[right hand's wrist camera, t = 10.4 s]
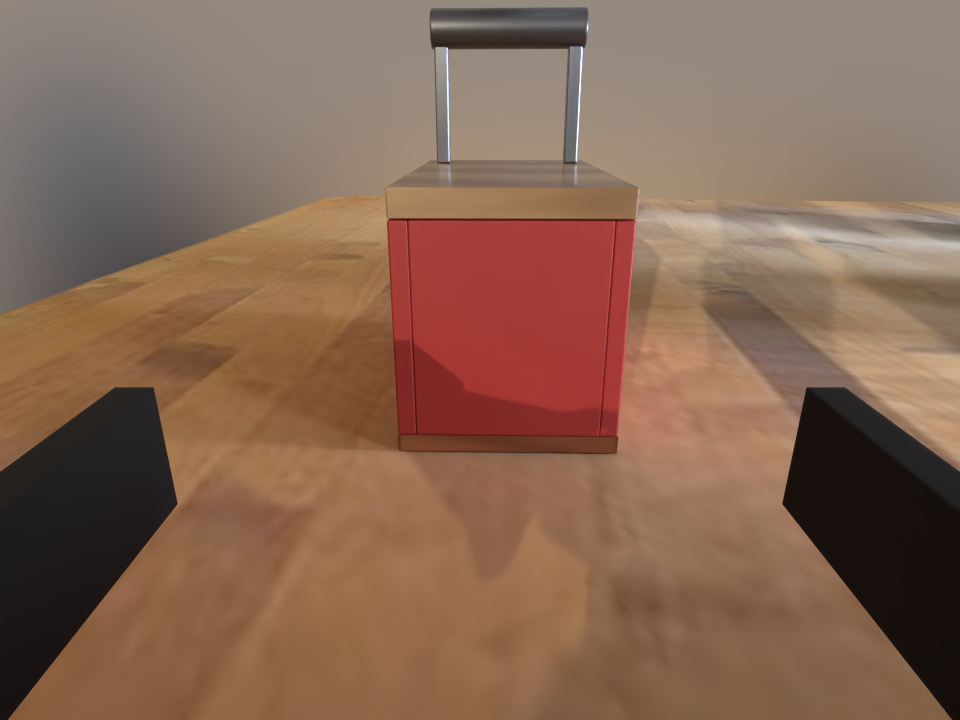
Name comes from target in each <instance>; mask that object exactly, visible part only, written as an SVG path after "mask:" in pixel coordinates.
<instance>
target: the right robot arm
mask: <svg viewBox="0 0 960 720" xmlns="http://www.w3.org/2000/svg"><path fill="white" fill-rule="evenodd" d="M176 505H177V499H176V494H175V489H174V484H173V479H172V475H171V470H170V465H169V460H168V455H167V451H166V446H165V441H164V436H163V431H162V427H161V422H160V417H159V412H158V407H157V402H156V398H155V393H154V388H114V389H113V390H111V391H110V392H108V393H107V394H106V395H104V396H103V397H102V398H100V399H99V400H98V401H96V402H95V403H93V404H92V405H91V406H89V407H88V408H87V409H85V410H84V411H83V412H81V413H80V414H78V415H77V416H76V417H74V418H73V419H72V420H70V421H69V422H68V423H66V424H65V425H63V426H62V427H61V428H59V429H58V430H57V431H55V432H54V433H53V434H51V435H50V436H49V437H47V438H46V439H44V440H43V441H42V442H40V443H39V444H38V445H36V446H35V447H34V448H32V449H31V450H29V451H28V452H27V453H25V454H24V455H23V456H21V457H20V458H19V459H17V460H16V461H14V462H13V463H12V464H10V465H9V466H8V467H6V468H5V469H4V470H2V471H1V472H0V720H8V719H9V717H10V716H11V715H12V714H13V712H14V711H15V710H16V709H17V707H18V706H19V705H20V703H21V702H22V701H23V700H24V698H25V697H26V696H27V695H28V693H29V692H30V691H31V689H32V688H33V687H34V686H35V684H36V683H37V682H38V681H39V679H40V678H41V677H42V675H43V674H44V673H45V672H46V670H47V669H48V668H49V667H50V665H51V664H52V663H53V662H54V660H55V659H56V658H57V656H58V655H59V654H60V653H61V651H62V650H63V649H64V648H65V646H66V645H67V644H68V642H69V641H70V640H71V639H72V637H73V636H74V635H75V634H76V632H77V631H78V630H79V629H80V627H81V626H82V625H83V623H84V622H85V621H86V620H87V618H88V617H89V616H90V615H91V613H92V612H93V611H94V609H95V608H96V607H97V606H98V604H99V603H100V602H101V601H102V599H103V598H104V597H105V595H106V594H107V593H108V592H109V590H110V589H111V588H112V587H113V585H114V584H115V583H116V582H117V580H118V579H119V578H120V576H121V575H122V574H123V573H124V571H125V570H126V569H127V568H128V566H129V565H130V564H131V562H132V561H133V560H134V559H135V557H136V556H137V555H138V554H139V552H140V551H141V550H142V549H143V547H144V546H145V545H146V543H147V542H148V541H149V540H150V538H151V537H152V536H153V535H154V533H155V532H156V531H157V529H158V528H159V527H160V526H161V524H162V523H163V522H164V521H165V519H166V518H167V517H168V515H169V514H170V513H171V512H172V510H173V509H174V508H175V507H176ZM783 505H784V507H785V508H786V509H787V510H788V512H789V513H790V514H791V515H792V517H793V518H794V519H795V521H796V522H797V523H798V524H799V526H800V527H801V528H802V529H803V531H804V532H805V533H806V535H807V536H808V537H809V538H810V540H811V541H812V542H813V543H814V545H815V546H816V547H817V549H818V550H819V551H820V552H821V554H822V555H823V556H824V557H825V559H826V560H827V561H828V562H829V564H830V565H831V566H832V568H833V569H834V570H835V571H836V573H837V574H838V575H839V576H840V578H841V579H842V580H843V582H844V583H845V584H846V585H847V587H848V588H849V589H850V590H851V592H852V593H853V594H854V595H855V597H856V598H857V599H858V601H859V602H860V603H861V604H862V606H863V607H864V608H865V609H866V611H867V612H868V613H869V615H870V616H871V617H872V618H873V620H874V621H875V622H876V623H877V625H878V626H879V627H880V629H881V630H882V631H883V632H884V634H885V635H886V636H887V637H888V639H889V640H890V641H891V642H892V644H893V645H894V646H895V648H896V649H897V650H898V651H899V653H900V654H901V655H902V656H903V658H904V659H905V660H906V662H907V663H908V664H909V665H910V667H911V668H912V669H913V670H914V672H915V673H916V674H917V675H918V677H919V678H920V679H921V681H922V682H923V683H924V684H925V686H926V687H927V688H928V689H929V691H930V692H931V693H932V695H933V696H934V697H935V698H936V700H937V701H938V702H939V703H940V705H941V706H942V707H943V709H944V710H945V711H946V712H947V714H948V715H949V716H950V717H951V719H952V720H960V472H959V471H958V470H956V469H955V468H954V467H952V466H951V465H950V464H948V463H947V462H946V461H944V460H943V459H941V458H940V457H939V456H937V455H936V454H935V453H933V452H932V451H931V450H929V449H928V448H926V447H925V446H924V445H922V444H921V443H920V442H918V441H917V440H916V439H914V438H913V437H911V436H910V435H909V434H907V433H906V432H905V431H903V430H902V429H901V428H899V427H898V426H897V425H895V424H894V423H892V422H891V421H890V420H888V419H887V418H886V417H884V416H883V415H882V414H880V413H879V412H877V411H876V410H875V409H873V408H872V407H871V406H869V405H868V404H867V403H865V402H864V401H862V400H861V399H860V398H858V397H857V396H856V395H854V394H853V393H852V392H850V391H849V390H847V389H846V388H806V393H805V398H804V402H803V407H802V412H801V417H800V422H799V427H798V431H797V436H796V441H795V446H794V451H793V455H792V460H791V465H790V470H789V475H788V479H787V484H786V489H785V494H784V499H783Z"/></svg>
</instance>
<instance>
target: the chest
mask: <svg viewBox="0 0 960 720" xmlns="http://www.w3.org/2000/svg"><path fill="white" fill-rule="evenodd" d="M387 230H388V248H389V267H390V285H391V303H392V322H393V340H394V359H395V377H396V396H397V414H398V432H399V434H398V443H399V450H403V451H483V452H563V453H617V444H618V436H617V435H618V425H619V413H620V402H621V391H622V380H623V368H624V357H625V346H626V335H627V323H628V312H629V301H630V290H631V278H632V267H633V256H634V245H635V233H636V221H635V220H633V219H389V220H388V221H387Z"/></svg>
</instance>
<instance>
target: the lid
mask: <svg viewBox="0 0 960 720" xmlns="http://www.w3.org/2000/svg"><path fill="white" fill-rule="evenodd" d="M587 35H588V9H587V8H585V7H584V8H583V7H581V8H432V9H431V11H430V39H431V46H432V49H434V52H435V93H436V133H437V160H431V161H429V162H428V163H426V164H424V165H423V166H421V167H419V168H418V169H416V170H414V171H413V172H411V173H409V174H407V175H406V176H404V177H403V178H401V179H399V180H397V181H396V182H394V183H392V184H391V185H389V186H387V187H386V188H385V194H386V213H387V218H388V219H637V212H638V201H639V190H640V189H639V188H638V187H636V186H634V185H632V184H630V183H628V182H626V181H623V180H621V179H619V178H617V177H615V176H613V175H611V174H609V173H607V172H605V171H602V170H600V169H598V168H596V167H594V166H592V165H590V164H588V163H585V162H583V161H581V160H577V146H578V127H579V108H580V89H581V70H582V51H583V48H585V46H586V42H587ZM449 49H568V61H567V83H566V106H565V128H564V150H563V160H450V104H449Z"/></svg>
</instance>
